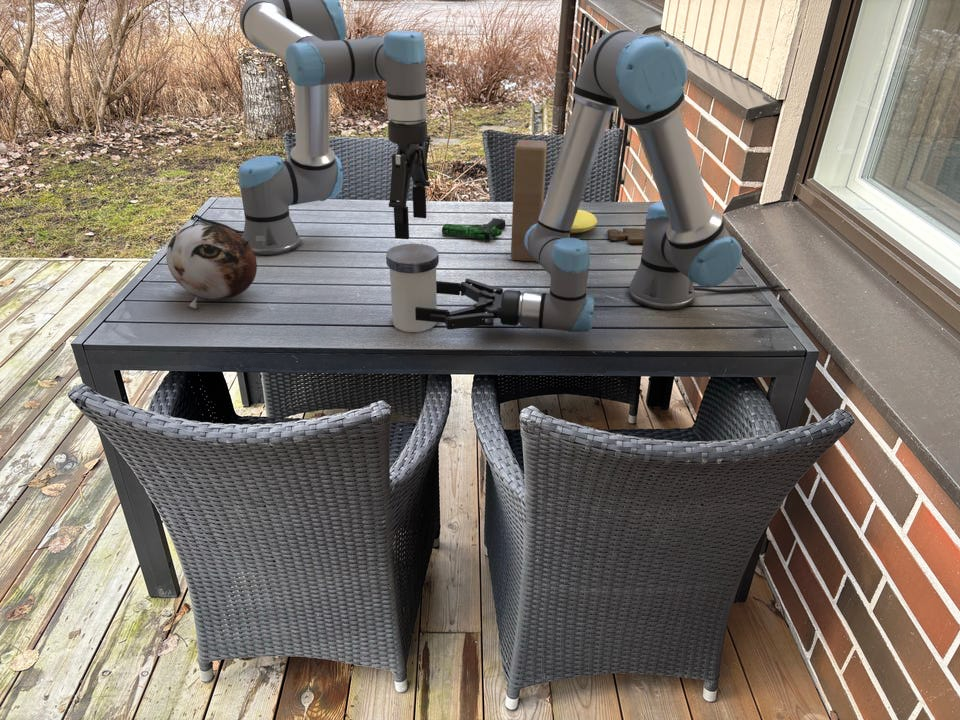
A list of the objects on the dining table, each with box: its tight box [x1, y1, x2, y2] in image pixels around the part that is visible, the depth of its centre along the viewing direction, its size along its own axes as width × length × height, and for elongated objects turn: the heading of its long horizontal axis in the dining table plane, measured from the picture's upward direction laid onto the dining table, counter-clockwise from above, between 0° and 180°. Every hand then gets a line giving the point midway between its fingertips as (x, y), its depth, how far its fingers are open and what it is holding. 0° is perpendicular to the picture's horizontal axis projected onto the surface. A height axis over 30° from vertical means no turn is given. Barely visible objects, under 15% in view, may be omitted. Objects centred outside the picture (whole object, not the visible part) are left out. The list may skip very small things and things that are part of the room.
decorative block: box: [510, 139, 571, 262], centre depth 184 cm, size 8×15×30 cm, turn 82°
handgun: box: [441, 217, 506, 242], centre depth 207 cm, size 16×3×15 cm
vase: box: [570, 208, 598, 234], centre depth 209 cm, size 16×16×7 cm
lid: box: [385, 243, 440, 273], centre depth 152 cm, size 11×11×2 cm
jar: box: [389, 267, 438, 333], centre depth 155 cm, size 10×10×16 cm
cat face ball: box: [165, 222, 258, 309], centre depth 165 cm, size 22×18×20 cm
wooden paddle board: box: [606, 227, 645, 244], centre depth 205 cm, size 26×2×10 cm
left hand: (411, 227), depth 148 cm, fingers open, 12 cm apart
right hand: (423, 299), depth 155 cm, fingers open, 13 cm apart
